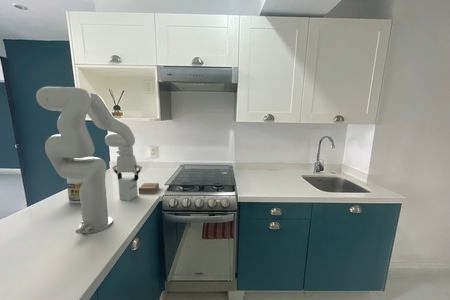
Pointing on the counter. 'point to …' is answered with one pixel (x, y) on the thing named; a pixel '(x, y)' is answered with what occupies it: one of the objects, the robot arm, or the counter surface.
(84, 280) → the counter surface
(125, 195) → the supplement box
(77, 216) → the counter surface
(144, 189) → the walnut block
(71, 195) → the supplement tub
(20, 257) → the counter surface
